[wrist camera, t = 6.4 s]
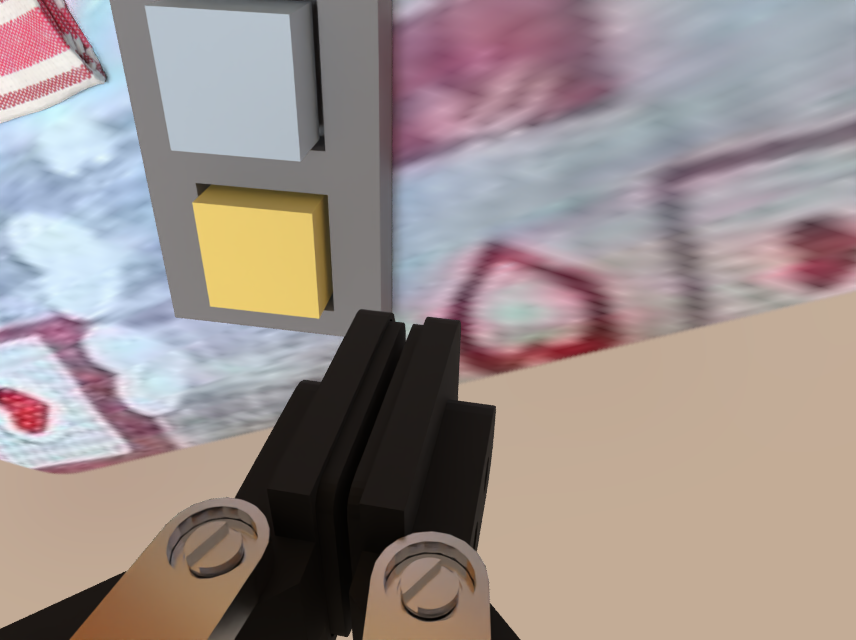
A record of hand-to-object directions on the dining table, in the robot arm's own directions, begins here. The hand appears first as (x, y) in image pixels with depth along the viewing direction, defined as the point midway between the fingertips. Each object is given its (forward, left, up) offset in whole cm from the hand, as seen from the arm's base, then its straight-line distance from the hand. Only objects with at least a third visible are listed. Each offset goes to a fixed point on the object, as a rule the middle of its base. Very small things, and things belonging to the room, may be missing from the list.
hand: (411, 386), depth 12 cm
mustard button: (+11, +10, -23) cm, 28 cm away
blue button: (+11, +1, -22) cm, 25 cm away
